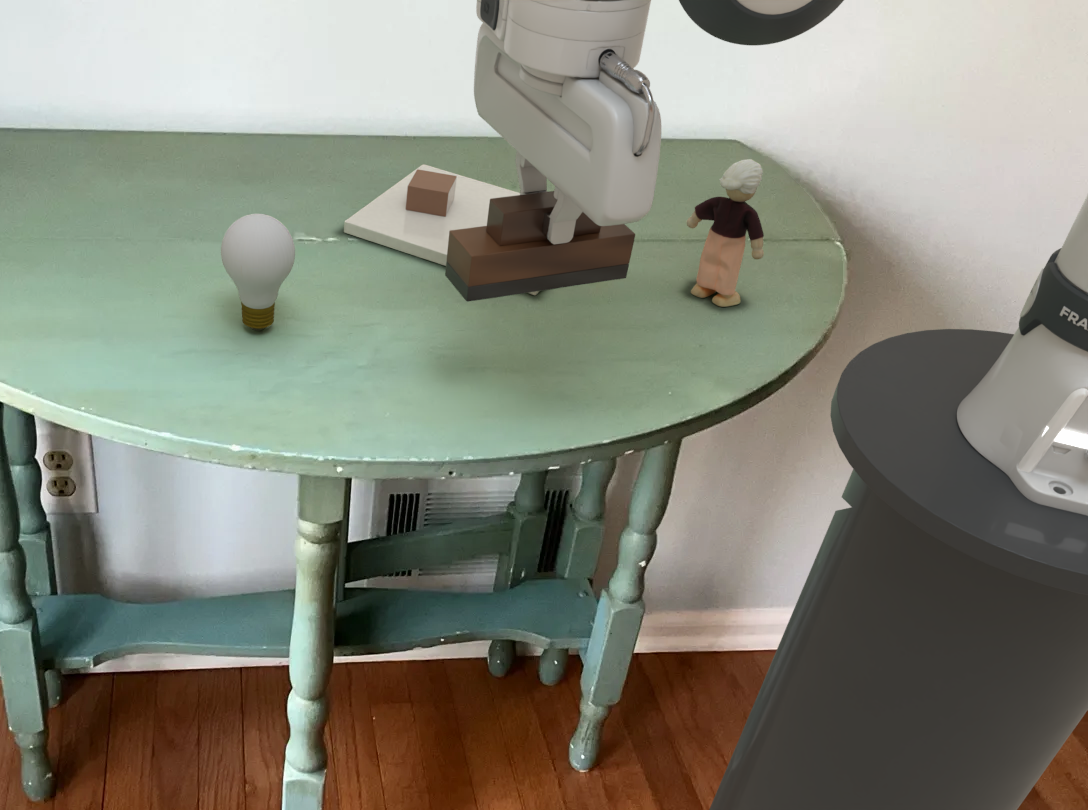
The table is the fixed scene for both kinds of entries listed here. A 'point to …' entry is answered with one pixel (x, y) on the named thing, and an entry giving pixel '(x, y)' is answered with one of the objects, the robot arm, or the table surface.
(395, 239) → the tile
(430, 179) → the brown square block
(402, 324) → the table surface
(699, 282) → the grandmother figurine
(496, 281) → the brush
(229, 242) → the light bulb
